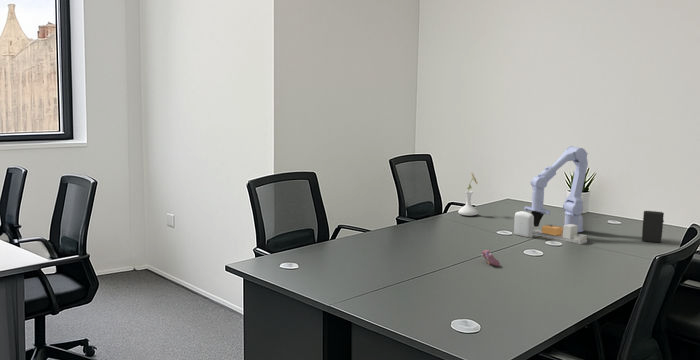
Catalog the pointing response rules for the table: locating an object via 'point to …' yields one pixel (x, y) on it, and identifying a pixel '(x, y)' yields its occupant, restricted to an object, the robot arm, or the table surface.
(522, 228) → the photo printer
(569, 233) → the block
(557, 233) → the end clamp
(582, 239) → the mounting rail
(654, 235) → the card reader
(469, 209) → the flower in vase
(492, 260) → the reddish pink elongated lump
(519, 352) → the table surface
